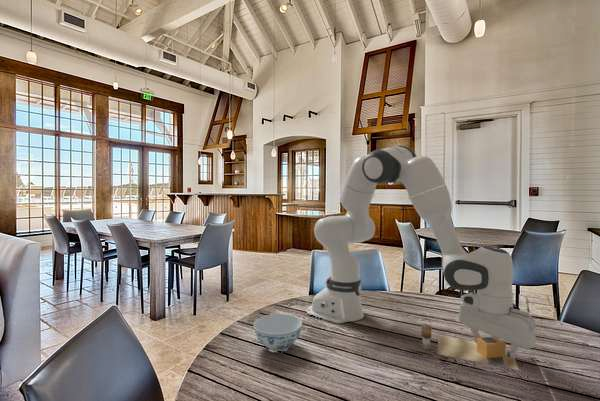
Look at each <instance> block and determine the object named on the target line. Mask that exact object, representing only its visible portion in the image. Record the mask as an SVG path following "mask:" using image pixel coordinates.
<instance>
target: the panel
mask: <svg viewBox="0 0 600 401" xmlns="http://www.w3.org/2000/svg"><path fill="white" fill-rule="evenodd" d="M437 340H438V341H437V348H436V355H440V356H446V357H449V358H450V357H451V358H456V359H460V360H465V361H471V362H477V363H481V364H484V365H485V364H486V365H491V366H495V367H499V368H506V369H511V370H517V371H520V369H519V366H518V363H517V360H516V357H515V358H514V359H512V358H509V357H507V350H510V349H511V350H512V347H507V346H506V356H505V357H496V358H485V357H484V356H482V355H481V354H480V353H478V352H477V343H475V342H474V340H467V339H463V338H462V339H461V338H457V337H456V338H455V337H452V336H451V337H450V336H446V335H445V336H444V335H441V334H440V335H438V339H437Z"/></svg>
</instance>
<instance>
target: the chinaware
mask: <svg viewBox="0 0 600 401" xmlns="http://www.w3.org/2000/svg"><path fill="white" fill-rule="evenodd" d="M302 327H303V321H302V319H300V318H299V317H298V316H295V315H291V314H286V313H285V314H284V313H274V314H273V313H272V314H268V315H264V316H262V317H259V318H257V319H256V320H255V321H254V323H253V330H254V332H255V337H257V339H258V341H259V343H260V344H262V345H263V346H265V348H267V349H268V348H269V349H270V350H273V351H284V350H286V349H288V347H289V348H290V347H291V346H292V345H293V344H294V343H295V342H296V341H297V340H298V338H299V336H300V335H301V331H302ZM288 350H289V349H288ZM286 351H287V350H286Z"/></svg>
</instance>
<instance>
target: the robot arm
mask: <svg viewBox="0 0 600 401" xmlns="http://www.w3.org/2000/svg"><path fill="white" fill-rule="evenodd" d="M396 182H400V183H402V184H403V187H404V188H405V189H406V191H407V194H408V196H409V199H410V202H411V204H412V206H413V208H414V209H415V211H416V213H417V214H418V216H419V217H420V219H422V220H423V221H424V222H425V223H427V225H429V227H430V228H431V230H432V232H433V233H434V236H435V239H436V242H437V244H438V246H439V249H440V252H441V269H442V272H443V277H444V280H445V282H446V283H447V284H448V285H449V286H450V287H451V288H452V289H454V290H457V291H461V292H462V291H468V292H469V291H474V292H469V293H465V294H463V295H461V296H460V301H461V303H460V305H459V309H458V310H459V312H458V320H459V321H460V323H461V324H462V325H465V326H467V327H469V328H470V331H471V334H472V336H473V338H474V340H473V341H474V342H475V343H477V338H483V337H482V336H480V334H479V332H482V333H485V334H487V335H490V336H491V337H494V336H495V337H497V338H499V339H500V340H502V341H504V342H508V343H510V346H511V347H510V348H511V349H512V350H511V349H510V350H507V357H509V358H512V359H514V358H515V359H516V356H517V351H519V349H520V348H523V349H526V350H528V349H531V348H533V347H535V346H536V344H537V340H536V337H537V336H536V331H535V328H536V320H535V318H534V317H533V316H532V315H530V313H529V312H527V311H522V310H519V309H517V308H514V292H513V288H512V286H513V283H514V263H513V258H512V255H511V254H510V253H509V252H508V251H507V250H505V249H503V248H500V247H497V246H492V245H481V246H480V247H479V248H478V249H475V250H474V251H471V252H468V251H467V250H466V249H465V248H464V247H463V245H462V244H461V242H460V239H459V237H458V234H457V233H456V232H457V231H456V230H455V227H454V224H453V220H452V210H453V205H452V204H453V203H452V200H451V195H450V192H449V189H448V186H447V184H446V182H445V179H444V177H443V175H442V173H441V172H440V170H439V168H438V167H437V165H436V163H435V161H433V160H432V159H431V158H430V157H429V156H424V155H419V156H417V154H416V153H415V151H414V150H413V149H412V148H410V147H408V146H405V145H404V146H403V145H396V146H387V147H384V148H381V149H375V150H373V151H371V152H369V153H368V154H367V155H361V156H358V157H356V158H355V159H354V161H353V163H352V165H351V166H350V168H349V170H348V173H347V174H346V177H345V182H344V184H343V187H342V191H341V193H340V198H339V200H340V201H339V202H340V204H341V206H342V207H343V208H344V209H345V210H346V213H345V214H344V215H332V216H327V217H323V218H320V219H318V220H317V221H316V222H315V224H314V228H313V234H314V237H315V239H316V240H317V242H318V243H319V244H321V245H322V247H324V248H325V249H326V252H327V253H328V256H329V259H330V276H329V277H328V278H327V279H326V281H325V283H324V284H325V285H326V287H324V288H323V289H322V290H320V291H319V292H318V293H316V295H315V296H314V297H313V300H312V304H311V305H309V306H308V307H307V309H306V312H307V313H306V315H307V314H309V315H308V316H310V315H313V316H315V317H314V318H317V317H318V319H320V318H322V319H321V320H325V321H329V322H332V323H334V324H344V323H347V322H348V323H349V322H355V321H359V320H361V319H363V318H364V317H365V314H364V310H363V305H362V299H361V293H362V279H361V276H360V274H361V273H360V271H361V270H360V265H361V264H360V263H361V262H360V260H359V257H358V256H357V255H356V254H354V253H352V252H350V250H349V244H359V243H363V242H366V241H369V240H371V239H372V238H373V237H374V236H375V233H376V224H375V222H374V220H373V219H372V218H371V217H370V205H371V202H372V199H373V197H374V193H375V191H376V188H377V185H378V184H393V183H396ZM475 291H477V292H475ZM313 316H312V317H313Z"/></svg>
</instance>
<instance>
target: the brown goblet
mask: <svg viewBox="0 0 600 401" xmlns="http://www.w3.org/2000/svg"><path fill="white" fill-rule="evenodd" d="M420 330H421V337H422V342H421V343H422V350H423V351H431V338H432V326H431V325H430V324H426V323H424V324H421V329H420Z"/></svg>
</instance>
